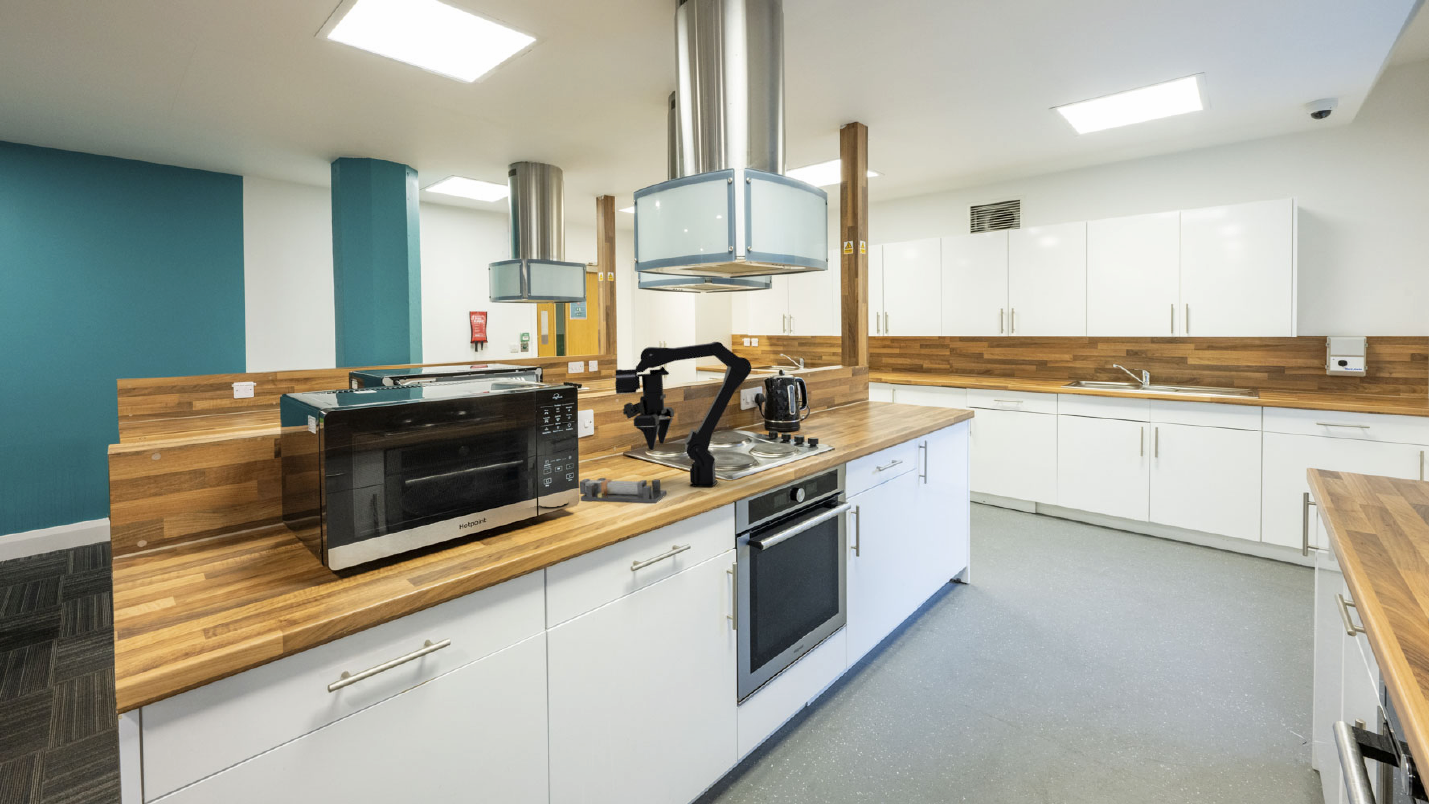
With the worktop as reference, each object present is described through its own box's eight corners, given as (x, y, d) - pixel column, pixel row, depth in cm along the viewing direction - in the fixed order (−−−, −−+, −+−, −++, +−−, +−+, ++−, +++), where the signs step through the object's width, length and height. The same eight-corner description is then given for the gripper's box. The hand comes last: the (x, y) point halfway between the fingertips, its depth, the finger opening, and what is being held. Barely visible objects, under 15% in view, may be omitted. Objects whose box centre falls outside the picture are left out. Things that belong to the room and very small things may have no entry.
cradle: (666, 494, 163) (665, 479, 163) (655, 503, 154) (654, 488, 154) (595, 491, 168) (594, 477, 168) (581, 500, 159) (580, 485, 159)
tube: (647, 492, 161) (646, 480, 161) (642, 496, 158) (642, 483, 158) (585, 490, 166) (585, 478, 165) (580, 494, 162) (579, 481, 162)
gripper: (637, 389, 178) (640, 440, 180) (613, 396, 160) (617, 453, 162) (673, 388, 176) (676, 440, 178) (653, 395, 158) (656, 453, 160)
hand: (656, 446), depth 169 cm, fingers open, 9 cm apart
